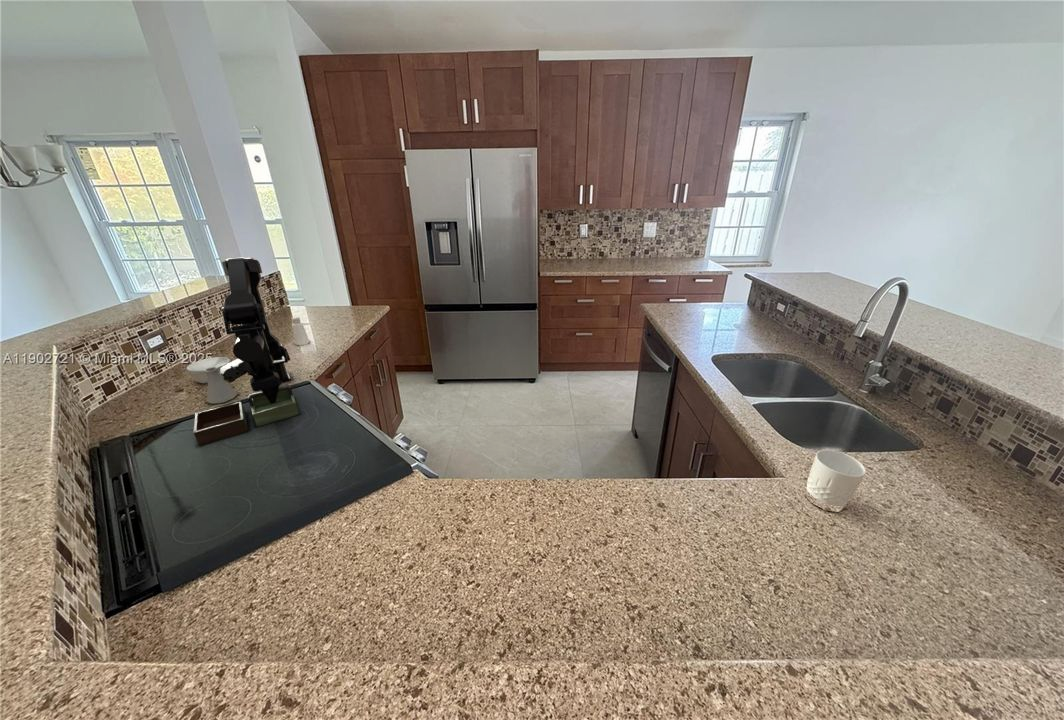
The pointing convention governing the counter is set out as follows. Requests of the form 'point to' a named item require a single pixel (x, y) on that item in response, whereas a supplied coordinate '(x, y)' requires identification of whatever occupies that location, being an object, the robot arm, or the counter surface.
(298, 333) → the pepper shaker
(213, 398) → the flask
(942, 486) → the counter surface
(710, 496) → the counter surface
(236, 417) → the bottom basket
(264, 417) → the top basket
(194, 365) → the ramekin
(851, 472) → the white cup
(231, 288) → the robot arm
